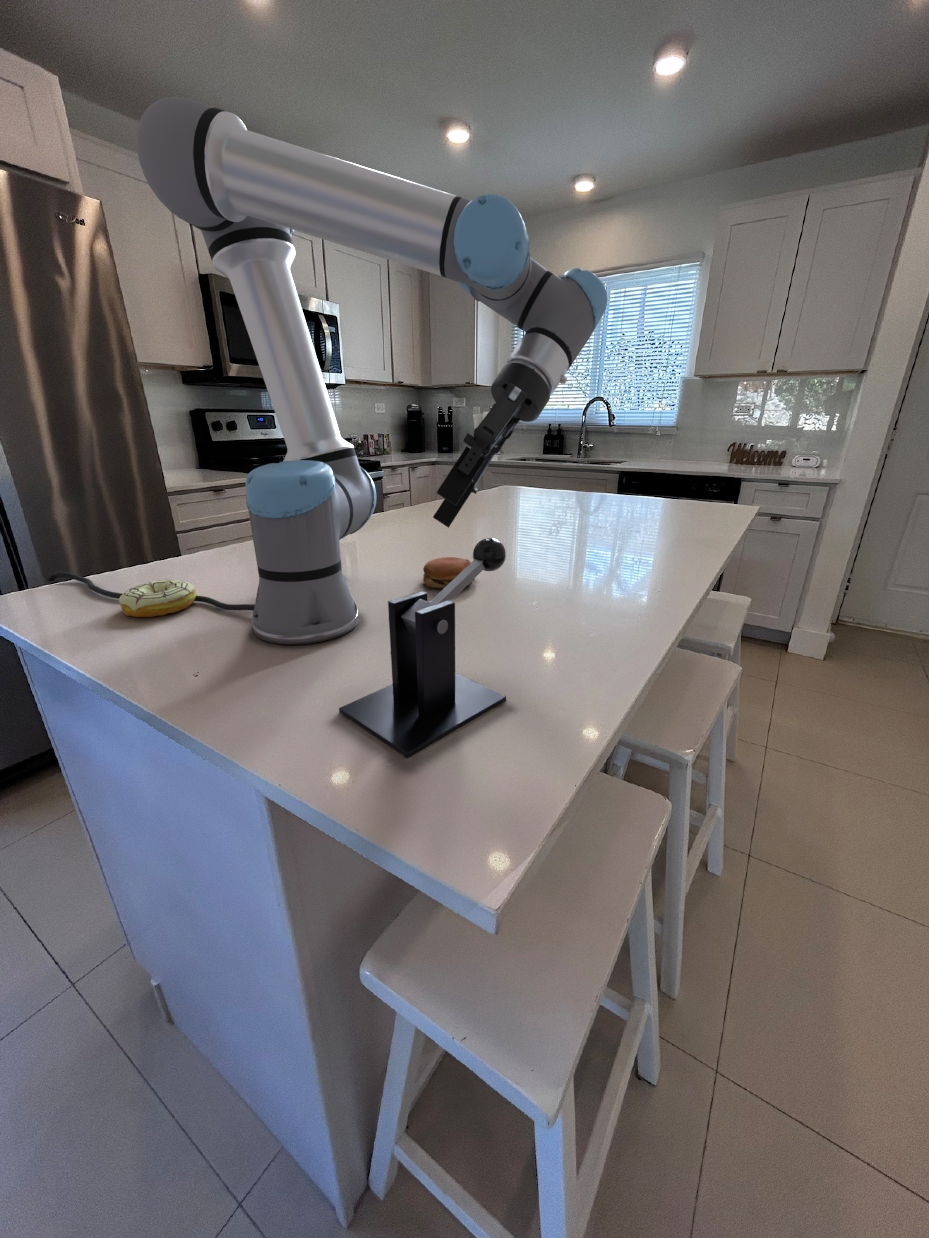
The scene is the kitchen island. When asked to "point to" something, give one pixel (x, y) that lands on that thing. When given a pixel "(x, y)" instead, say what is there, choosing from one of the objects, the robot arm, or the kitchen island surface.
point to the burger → (443, 571)
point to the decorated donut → (157, 598)
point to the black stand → (421, 683)
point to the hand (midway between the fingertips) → (443, 512)
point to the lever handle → (462, 577)
